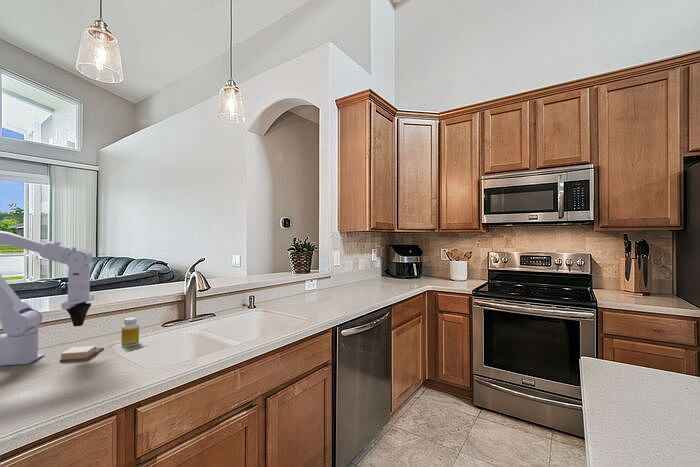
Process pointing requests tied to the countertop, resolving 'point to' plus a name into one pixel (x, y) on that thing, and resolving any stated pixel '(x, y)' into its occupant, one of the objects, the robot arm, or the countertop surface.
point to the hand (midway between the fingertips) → (78, 325)
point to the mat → (85, 358)
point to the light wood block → (78, 352)
